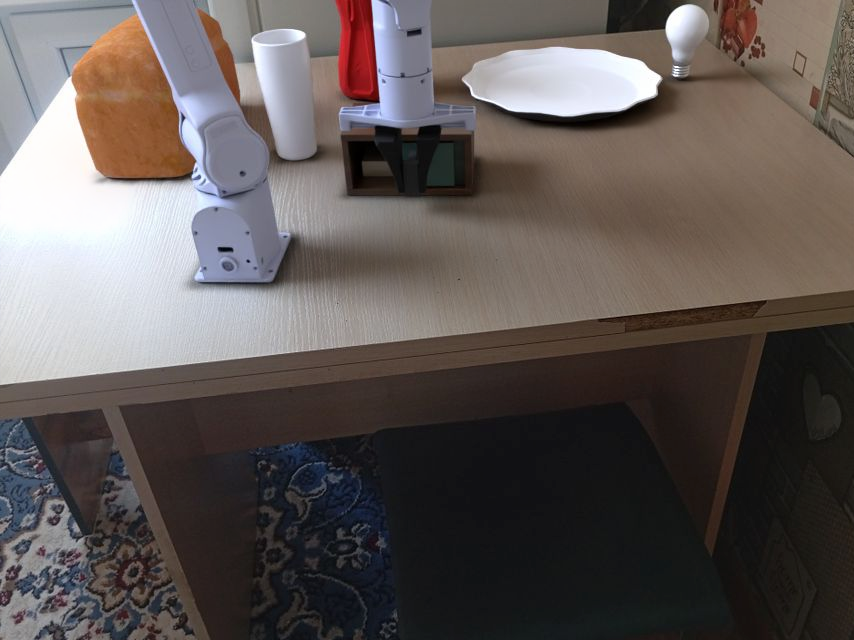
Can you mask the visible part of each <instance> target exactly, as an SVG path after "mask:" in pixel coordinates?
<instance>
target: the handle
mask: <svg viewBox="0 0 854 640" xmlns="http://www.w3.org/2000/svg"><path fill="white" fill-rule="evenodd" d="M402 156H403V163H402V169H403V182H404V195H403V196H404V198H420V197H421V196H422V195H421V193H419V160H418V150H417V143H416V141H402ZM427 186H455V170H454V141H439V144H438V146H437V149H436V151H435V153H434V155H433V158H432V161H431V164H430V167H429V171H428V175H427Z"/></svg>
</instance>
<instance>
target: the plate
mask: <svg viewBox="0 0 854 640" xmlns="http://www.w3.org/2000/svg"><path fill="white" fill-rule="evenodd" d="M663 80H664V79H663V77H662V75H660V74H658V73H656V71H653V70H652V69H650V68H649V67H648V66H647V65H646V63H645V62H643V61H642V60H639V59H636V58H632V57H627V56H622V55H618V54H616V53H613V52H610V51H607V50H602V49H593V48H592V49H590V48H589V49H588V48H583V49H582V48H573V47H565V46H548V47H542V48H534V49H516V50H510V51H506V52H504V53H502V54H499V55H497V56H494V57H490V58H486V59H481V60H479V61H476V62H475V63H474V64H473V66H472V68H471V70H470V71H469V72H467V73H466V74H465V75H463V76H462V77H461V82H462V83H463V84H464V85H465V86H466V87H467V88H468V89H469V91H470V94H471V95H470V96H471V97H472V98H473V99H475V100H476V101H479V102H482V103H484V104H488V105H490V106H491V107H493V108H494V109H497V110H498V111H501V112H502V113H506V114H508V115H512V116H515V117H519V118H522V119H526V120H527V119H528V120H534V121H541V122H555V123H557V122H558V123H575V122H589V121H595V120H596V121H597V120H601V119H607V118H611V117H614V116H617V115H620V114H623V113H624V112H626V111H628V110H630V109H633V108H636V107H638V106H640V105H642V104H643V105H644V104H646V103H647V102H649V101H651V100H654V99H655V98H657V97H658V96H659V93H658V91H659V90H658V87H660V84H662V82H663Z"/></svg>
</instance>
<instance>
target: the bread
mask: <svg viewBox="0 0 854 640" xmlns="http://www.w3.org/2000/svg"><path fill="white" fill-rule="evenodd" d="M196 9H197V12H198V14H199V17H200V19H201V22H202V24H203V27H204V29H205V32H206V34H207V37H208V39H209V42H210V44H211V47H212V49H213V51H214V54H215V56H216V59H217V61H218V64H219V66H220V69H221V71H222V74H223V76H224V79H225V81H226V83H227V85H228V87H229V89H230V90H231V92H232V94H233V96H234V97H235V99H236V101H237V103H238V105H239V106H240V107H241V89H240V83H239V78H238V74H237V70H236V69H237V68H236V63H235V58H234V54H233V52H232V50H231V48H230V46H229V43H228V42H227V40H226V39H225V38H224V36H223V31H222V27H221V25H220V23H219V21H218V20H217V19H215V18H214V17H213V16H211V15H209V14H208V13H207V12H206V11H203V10H202V9H201V8H197V7H196ZM70 81H71V84H72V86H73V88H74V91H75V93H76V95H75V98H74V103H75V104H74V105H75V111H76V117H77V120H78V124H79V126H80V129H81V132H82V136H83V138H84V142H85V144H86V147H87V150H88V152H89V154H90V155H89V156H90V158H91V160H92V163H93V165H94V168H95V170H96V171H97V172H99V174H101V175H102V176H103V177H107V178H112V179H115V178H116V179H154V178H155V179H157V178H159V179H160V178H176V177H182V176H183V177H184V176H185V175H188V174H191V173H193V170H194V167H195V163H196V162H197V161H196V159H195V158H194V156H193V155H192V154H191V153H190V152H189V151H188V150H187V149H186V147H185V146H184V145H183V143H182V141H181V138H180V135H179V120H180V117H179V112H178V109H177V106H176V104H175V102H174V99H173V95H172V89H171V86H170V84H169V82H168V80H167V78H166V75H165V73H164V71H163V69H162V67H161V64H160V62H159V60H158V58H157V56H156V53H155V51H154V49H153V47H152V45H151V42H150V40H149V38H148V36H147V34H146V31H145V29H144V27H143V25H142V23H141V20H140V18H139V16H138V14H137V13H135V14H134V15H132V16H130V17H128V18H126V19H124V20H123V21H121V22H120V23H118V24H117V25H115V26H114V27H113V28H111V29H110V30H109V31H107V32H106V33H104V34H103V35H102V36H100V37H98V39H97V40H96V41H95V43H94V44H93V45H92V46H91V47H90V48H89V49H88V51H86V53H84V55H82V57H81V58H80V59H79V60H78V61H77V62H76V63H75V64H74V66H73V69H72V74H71V77H70Z"/></svg>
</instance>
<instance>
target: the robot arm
mask: <svg viewBox="0 0 854 640" xmlns="http://www.w3.org/2000/svg"><path fill="white" fill-rule="evenodd" d="M433 2H434V0H384V1H381V0H372V11H373V26H374V37H375V49H376V60H377V73H378V84H379V96H380V101H379V102H378V103H379V104H372V105H364V106H356V107H352V106H342V107H341V108H340V110H339V112H338V118H339V125H340V126H339V128H340V131H341V132H342V131H350V130H351V129H369V128H375V138H374V141H375V144H376V146H377V148H378V149H379V150H380V152H381V153H382V155H383V156H384V158H385V160H386V162H387V163H388V165H389V167H390V170H391V172H392V174H393V177H394V180H395V183H396V186H397V191H398V193H404V182H403V169H402V163H403V156H402V128H419V130H418V134H417V138H416V143H417V150H418V160H419V193H426V188H427V175H428V171H429V167H430V164H431V161H432V158H433V155H434V153H435V151H436V149H437V146H438V144H439V141H440V137H441V130H442V128H465V130H467V131H474V132H475V131H476V127H477V110H476V109H477V108H476V106H474V107H470V106H457V105H449V104H442V103H434V102H435V96H434V95H435V94H434V72H433V70H434V69H433V50H432V49H433V47H432V25H431V24H432V23H431V21H432V20H431V17H432V16H431V8H432V3H433ZM131 3H132V5H133V7H134V9H135V12H136V14H138V16H139V18H140V20H141V23H142V25H143V27H144V29H145V31H146V34H147V36H148V38H149V40H150V42H151V45H152V47H153V49H154V51H155V53H156V56H157V58H158V60H159V62H160V64H161V67H162V69H163V71H164V73H165V75H166V78H167V80H168V82H169V84H170V86H171V89H172V95H173V99H174V102H175V104H176V106H177V109H178V112H179V117H180V120H179V135H180V138H181V141H182V143H183V145H184V146H185V147H186V149H187V150H188V151H189V152H190V153H191V154H192V155H193V156H194V158H195V159H196V161H197V162H196V163H195V167H194V170H193V172H192V174H191V181H192V185H193V188H194V192H195V196H196V207H195V208H196V209H195V212H194V214H193V216H192V219H191V223H190V231H191V235H192V238H193V242H194V246H195V250H196V254H197V258H198V261H199V265H200V267H199V268H198V270H197V272H196V274H195V275H194V281H195V282H197V283H271V282H273V281H274V279H275V277H276V275H277V273H278V270H279V267H280V266H281V263H282V260H283V258H284V256H285V254H286V251H287V248H288V247H289V244H290V242H291V239H292V233H291V232H288V231H287V232H286V231H285V232H283V231H282V232H280V231H279V228H278V224H277V219H276V213H275V208H274V203H273V197H272V192H271V187H270V181H269V176H268V169H269V165H270V151H269V148H268V146H267V143H266V142H265V140H264V139H263V138H262V136H261V135H260V134H259V133H258V132H257V131H255V130H254V129H253V128H252V127H251V126H250V125H249V124H248V122H247V120H246V118H245V115H244V113H243V109H242V108H241V105H240V106H239V105H238V103H237V101H236V99H235V97H234V96H233V94H232V92H231V90H230V89H229V87H228V85H227V83H226V81H225V79H224V76H223V74H222V71H221V69H220V66H219V64H218V61H217V59H216V56H215V54H214V51H213V49H212V47H211V44H210V42H209V39H208V37H207V34H206V32H205V29H204V27H203V24H202V22H201V19H200V17H199V14H198V12H197V9H196V8H197V6H196V5H195V2H194V0H131Z"/></svg>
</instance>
